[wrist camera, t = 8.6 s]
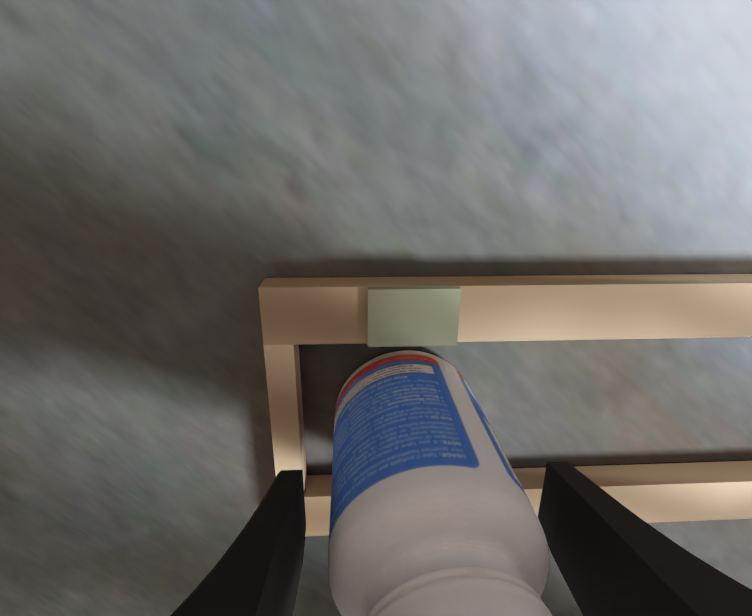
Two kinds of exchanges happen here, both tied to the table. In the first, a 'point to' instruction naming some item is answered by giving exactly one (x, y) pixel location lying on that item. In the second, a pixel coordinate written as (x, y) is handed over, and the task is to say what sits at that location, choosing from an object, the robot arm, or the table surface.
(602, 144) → the table surface
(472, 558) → the pill bottle
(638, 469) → the open wooden frame
